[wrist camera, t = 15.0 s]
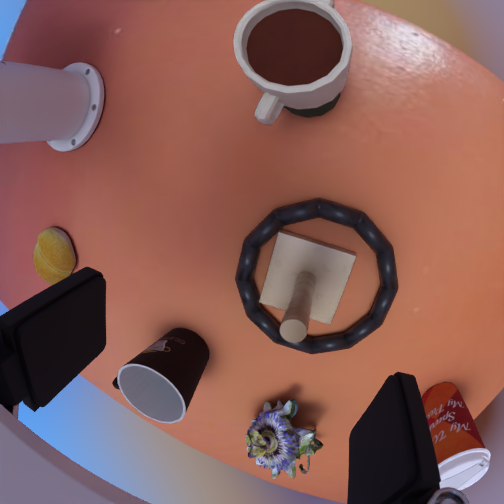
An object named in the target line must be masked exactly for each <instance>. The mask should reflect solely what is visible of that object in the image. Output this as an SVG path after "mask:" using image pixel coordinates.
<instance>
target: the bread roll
mask: <svg viewBox="0 0 504 504" xmlns="http://www.w3.org/2000/svg"><path fill="white" fill-rule="evenodd" d="M33 262H34V267H35V269H36V271H37V273H38V274H39V275H40V277H41V278H42V279H44V280H45V281H46V282H48V283H49V284H51V285H54V284H56V283H57V282H59V281H61V280H63V279H65V278H66V277H68V276H70V274H71V272H72V270H73V269H74V267H75V264H76V258H75V253H74V250H73V247H72V244H71V241H70V239H69V237H68V236H67V234H66V233H65V232H63V231H62V230H60V229H58V228H55V227H51V228H47V229H45V230H43V231H42V232H41V233H40V234H39V237H38V242H37V244H36V246H35V249H34V253H33Z"/></svg>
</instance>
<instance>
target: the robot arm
mask: <svg viewBox="0 0 504 504" xmlns="http://www.w3.org/2000/svg"><path fill="white" fill-rule="evenodd" d="M103 104H104V85H103V80H102V78H101V75H100V73H99V72H98V70H97V69H96V68H95V67H93V66H92V65H89V64H86V63H82V62H78V63H73V64H70V65H68V66H67V67H65V68H64V69H62V70H60V69H55V68H49V67H43V66H37V65H31V64H24V63H16V62H8V61H0V144H6V143H19V142H34V141H47V142H48V144H49V145H50V146H51V147H52V148H54V149H55V150H58V151H73V150H75V149H78V148H79V147H80V146H82V145H83V144H84V143H85V142H86V141H87V140H88V139H89V138H90V136H91V135H92V134H93V132H94V130H95V128H96V126H97V125H98V122H99V119H100V117H101V113H102V109H103ZM105 346H106V281H105V279H104V278H103V274H102V273H101V272H99V271H96V270H94V269H92V268H90V267H85V268H83V269H81V270H79V271H77V272H75V273H74V274H72V275H70V276H68V277H66V278H65V279H63V280H61V281H59V282H57V283H56V284H54V285H52V286H50V287H49V288H47V289H45V290H43V291H42V292H40V293H38V294H36V295H35V296H33V297H31V298H30V299H28V300H26V301H24V302H23V303H21V304H19V305H18V306H16V307H14V308H13V309H11V310H9V311H8V312H6V313H5V314H3V315H1V316H0V504H150V503H148V502H146V501H144V500H141V499H139V498H137V497H135V496H133V495H131V494H129V493H127V492H125V491H123V490H121V489H119V488H118V487H116V486H114V485H112V484H110V483H109V482H107V481H105V480H103V479H101V478H100V477H98V476H96V475H95V474H93V473H91V472H90V471H88V470H86V469H85V468H83V467H82V466H80V465H79V464H77V463H75V462H74V461H72V460H71V459H69V458H68V457H66V456H65V455H63V454H62V453H61V452H59V451H58V450H56V449H55V448H54V447H52V446H51V445H49V444H48V443H47V442H45V441H44V440H43V439H41V438H40V437H39V436H38V435H36V434H35V433H34V432H32V431H31V430H30V429H29V428H28V427H26V426H25V425H24V424H23V423H21V422H20V421H19V420H18V407H19V403H20V402H21V401H22V400H23V402H24V404H25V405H27V406H28V407H29V408H30V409H32V410H33V411H34V412H35V411H36V410H37V409H38V408H39V407H44V406H46V405H47V404H48V403H49V402H50V401H51V400H52V399H53V398H54V397H55V396H56V395H57V394H58V393H59V392H60V391H61V390H62V389H63V388H64V387H66V385H68V384H69V383H70V382H71V381H72V380H73V379H74V378H75V377H76V376H77V375H78V374H79V373H80V372H81V371H82V370H83V369H84V368H85V367H86V366H87V365H89V364H90V363H91V362H92V361H93V360H94V359H95V358H96V357H97V356H98V355H99V354H100V353H101V352H102V351H103V350H104V348H105ZM440 482H441V478H440V473H439V468H438V463H437V458H436V454H435V449H434V445H433V441H432V436H431V432H430V428H429V424H428V421H427V417H426V413H425V409H424V406H423V402H422V399H421V395H420V392H419V388H418V385H417V382H416V378H415V376H413V375H410V374H405V373H401V372H396V373H395V374H394V375H390V376H389V377H388V378H387V379H386V381H385V383H384V384H383V386H382V387H381V389H380V390H379V392H378V393H377V395H376V396H375V398H374V399H373V401H372V402H371V404H370V405H369V407H368V408H367V410H366V411H365V412H364V414H363V415H362V417H361V418H360V419H359V421H358V422H357V423H356V425H355V426H354V428H353V429H352V431H351V433H350V437H349V480H348V501H347V504H469V501H468V500H467V498H466V496H465V495H464V494H463V493H462V492H461V491H459V490H457V489H455V488H451V487H445V488H441V489H440V484H439V483H440Z"/></svg>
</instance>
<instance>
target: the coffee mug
mask: <svg viewBox="0 0 504 504" xmlns="http://www.w3.org/2000/svg"><path fill="white" fill-rule="evenodd" d="M208 359H209V350H208V347H207V345H206V343H205V341H204V340H203V339H202V338H201V337H200V336H199V335H198V334H196V333H195V332H193V331H191V330H188V329H185V328H176V329H173V330H171V331H170V332H168V333H167V334H166V335H164V336H163V337H162V338H160V339H159V340H158V341H156V342H155V343H154V344H152V345H151V346H150V347H148V348H147V349H146V350H144V351H143V352H141V353H140V354H139V355H137V356H136V357H135V358H133V359H132V360H131V361H129V362H128V363H127V364H125V365H124V366H123V367H122V368H121V369H120V370H119V372H118V376H117V377H116V378H115V379H114V381H113V383H112V384H113V386H114V387H115V388H116V389H120V390H121V392H122V394H123V395H124V397H125V398H126V400H127V401H128V402H129V403H130V404H131V405H132V406H133V407H134V408H135V409H136V410H137V411H139V412H140V413H141V414H143V415H145V416H146V417H148V418H150V419H152V420H155V421H158V422H162V423H176V422H178V421H180V420H182V418H183V417H184V415H185V413H186V411H187V408H188V406H189V404H190V401H191V399H192V397H193V394H194V392H195V390H196V387H197V385H198V383H199V380H200V378H201V376H202V373H203V371H204V369H205V366H206V364H207V362H208ZM117 383H118V384H117Z"/></svg>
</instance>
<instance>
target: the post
mask: <svg viewBox="0 0 504 504" xmlns="http://www.w3.org/2000/svg"><path fill="white" fill-rule="evenodd" d="M355 259H356V253H354V252H351V251H348V250H345V249H342V248H339V247H336V246H333V245H329V244H326V243H323V242H320V241H317V240H313V239H310V238H307V237H304V236H300V235H297V234H294V233H291V232H287V231H284V230H280V231H279V232H278V235H277V239H276V243H275V246H274V250H273V254H272V257H271V261H270V264H269V268H268V272H267V275H266V279H265V282H264V286H263V289H262V293H261V297H260V300H259V302H260V303H263V304H266V305H269V306H272V307H275V308H278V309H281V310H285V314H284V317H283V320H282V323H281V326H280V334H281V336H282V337H283V338H284V339H285V340H286V341H288V342H292V343H296V342H300V341H302V340H303V339H304V338H305V337H306V335H307V331H308V325H309V320H310V319H313V320H316V321H320V322H323V323H326V324H329V325H330V324H331V321H332V319H333V316H334V314H335V311H336V309H337V306H338V304H339V301H340V299H341V296H342V294H343V291H344V288H345V286H346V283H347V281H348V278H349V275H350V272H351V270H352V267H353V264H354V261H355Z"/></svg>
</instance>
